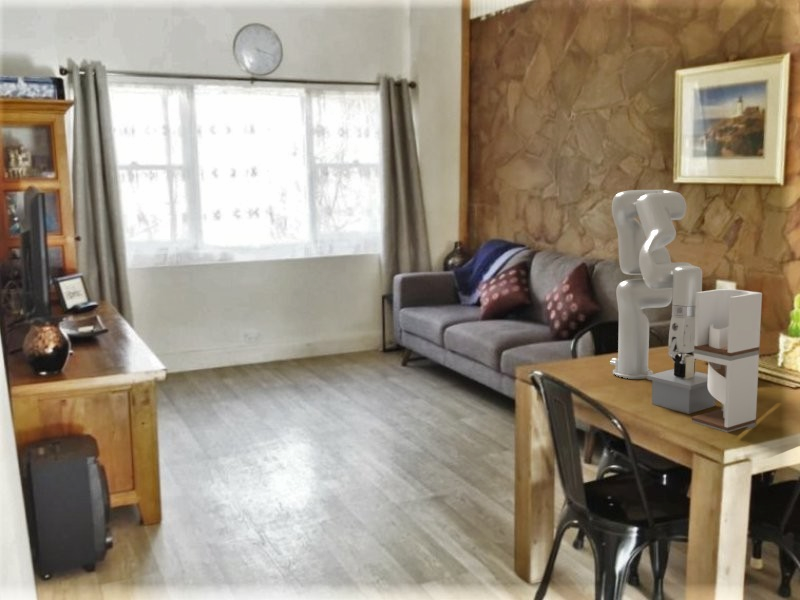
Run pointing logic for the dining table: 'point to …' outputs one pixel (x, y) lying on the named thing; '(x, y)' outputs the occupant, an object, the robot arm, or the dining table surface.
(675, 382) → the lid
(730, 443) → the dining table surface
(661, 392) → the open box
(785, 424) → the dining table surface
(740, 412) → the display case
